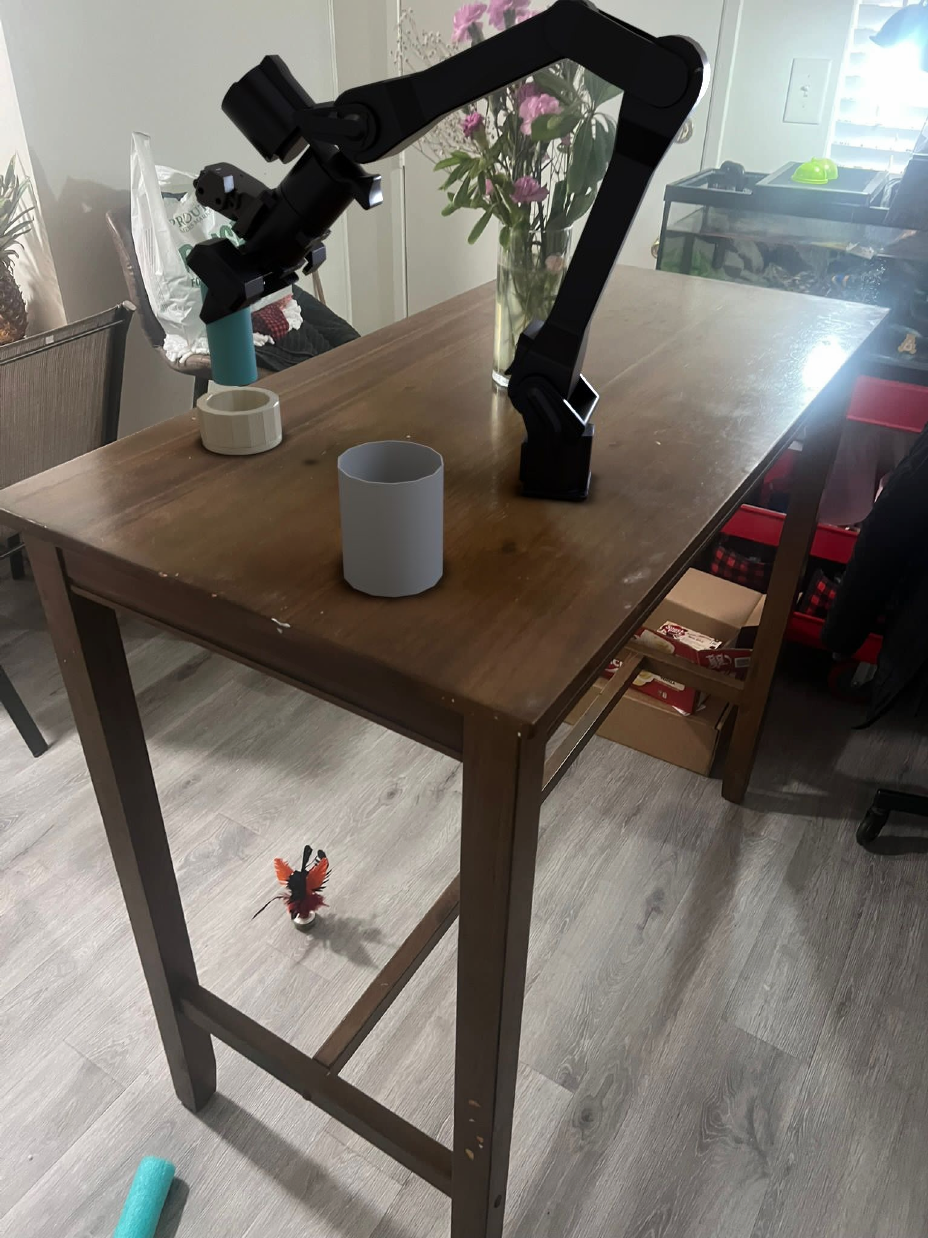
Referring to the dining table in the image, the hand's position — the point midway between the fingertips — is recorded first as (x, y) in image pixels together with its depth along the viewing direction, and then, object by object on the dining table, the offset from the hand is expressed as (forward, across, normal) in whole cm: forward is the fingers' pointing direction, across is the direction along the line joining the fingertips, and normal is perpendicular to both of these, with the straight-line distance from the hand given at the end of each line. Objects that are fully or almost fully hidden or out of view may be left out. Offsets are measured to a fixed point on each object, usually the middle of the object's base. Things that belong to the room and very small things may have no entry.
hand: (215, 314), depth 92 cm
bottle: (+4, 0, +6) cm, 7 cm away
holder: (+9, 0, +10) cm, 13 cm away
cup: (-9, +21, +29) cm, 37 cm away
